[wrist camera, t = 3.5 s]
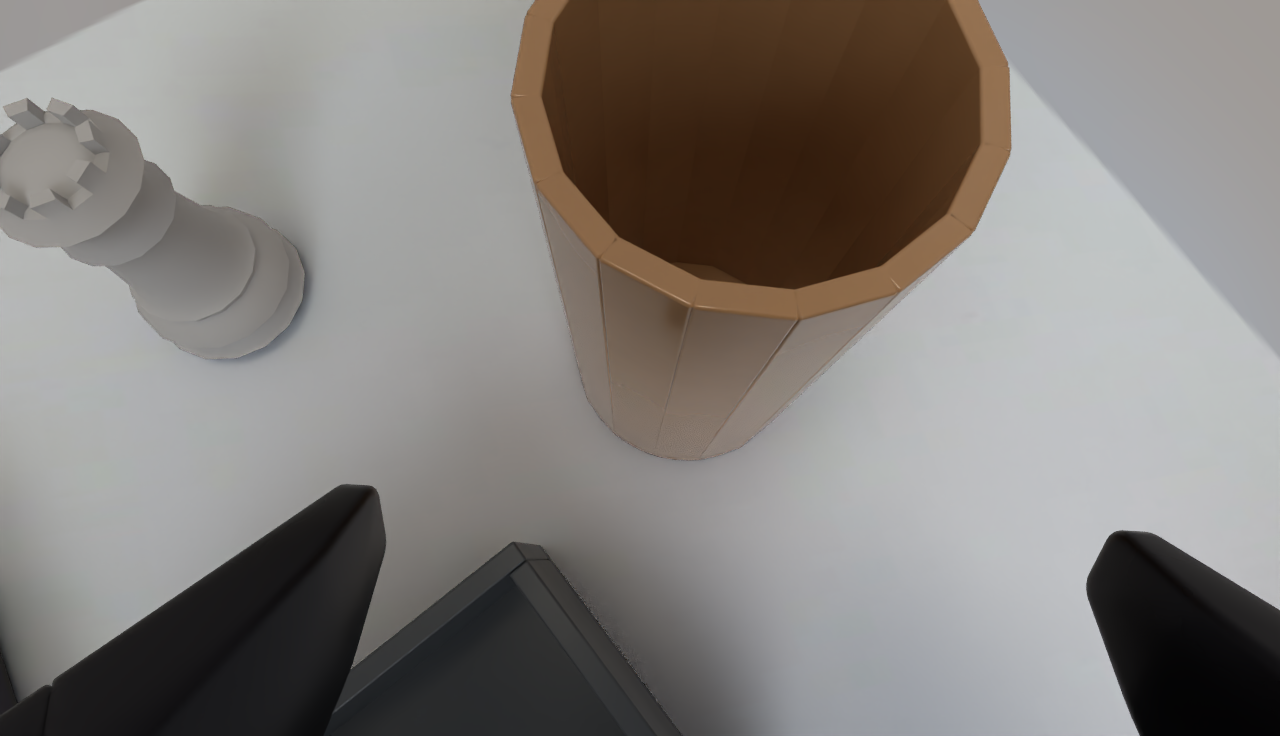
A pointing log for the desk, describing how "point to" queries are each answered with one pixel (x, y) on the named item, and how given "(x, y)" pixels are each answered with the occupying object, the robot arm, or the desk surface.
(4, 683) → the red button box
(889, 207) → the wooden cup
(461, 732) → the bin
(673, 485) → the desk surface
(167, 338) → the rook chess piece
